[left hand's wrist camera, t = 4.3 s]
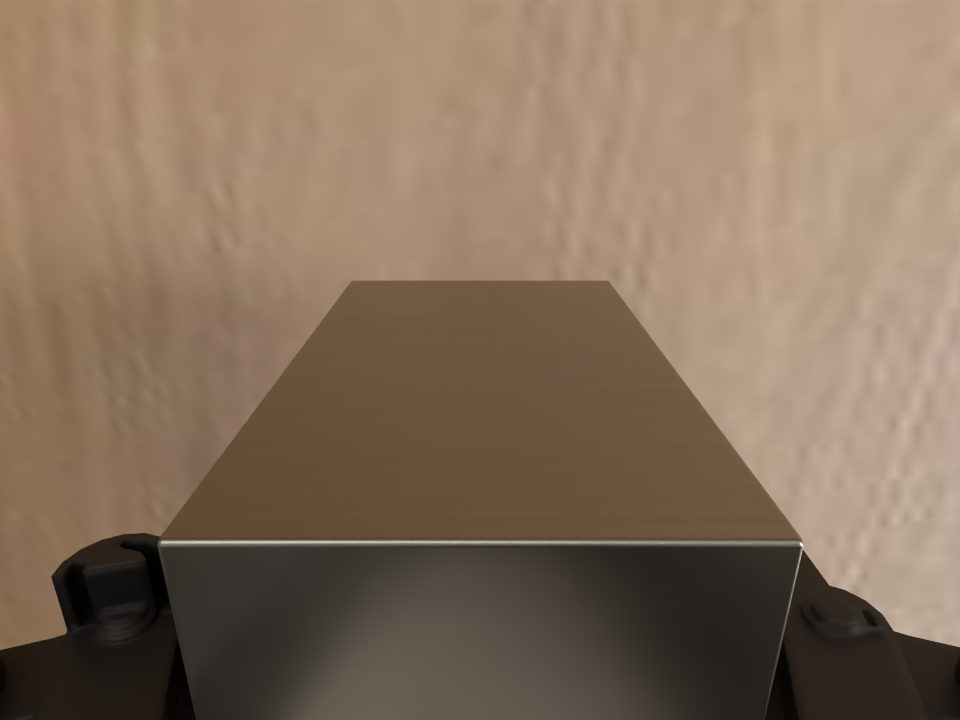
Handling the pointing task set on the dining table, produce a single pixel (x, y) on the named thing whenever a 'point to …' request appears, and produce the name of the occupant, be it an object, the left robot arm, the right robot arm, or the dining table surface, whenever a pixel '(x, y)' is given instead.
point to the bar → (480, 525)
